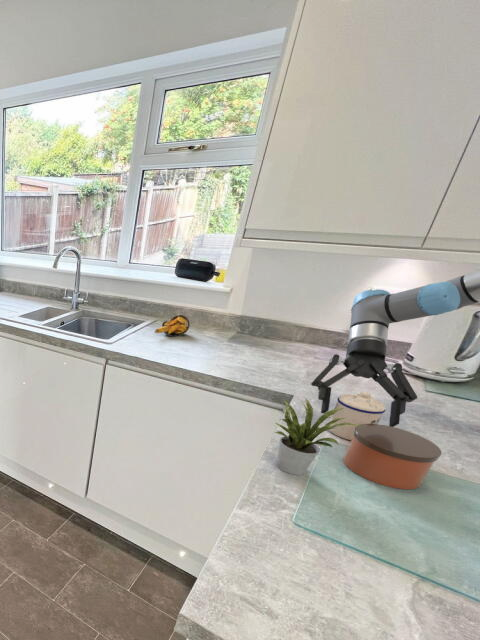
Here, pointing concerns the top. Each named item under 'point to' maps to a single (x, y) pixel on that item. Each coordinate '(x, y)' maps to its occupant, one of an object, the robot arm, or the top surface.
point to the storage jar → (390, 456)
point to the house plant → (302, 439)
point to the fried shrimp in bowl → (175, 326)
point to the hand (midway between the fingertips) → (358, 418)
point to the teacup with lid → (356, 413)
